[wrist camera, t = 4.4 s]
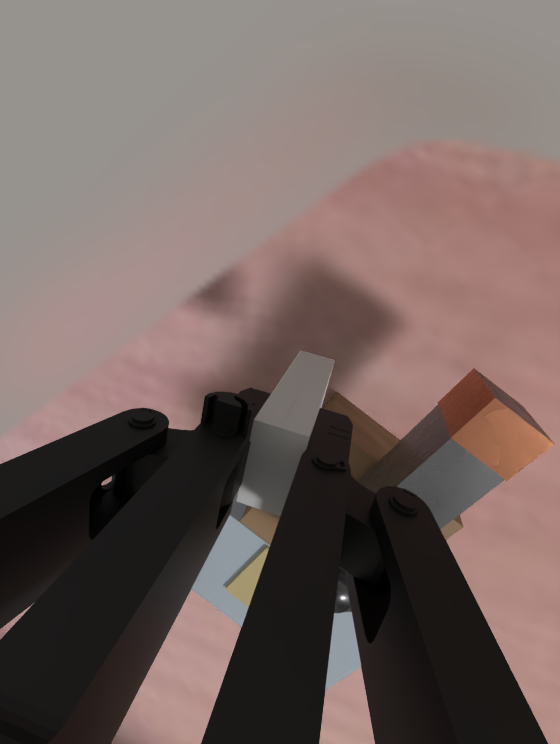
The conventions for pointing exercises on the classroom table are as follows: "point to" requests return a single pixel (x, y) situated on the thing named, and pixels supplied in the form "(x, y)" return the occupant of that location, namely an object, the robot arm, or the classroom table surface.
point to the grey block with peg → (238, 581)
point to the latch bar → (458, 453)
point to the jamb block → (364, 454)
